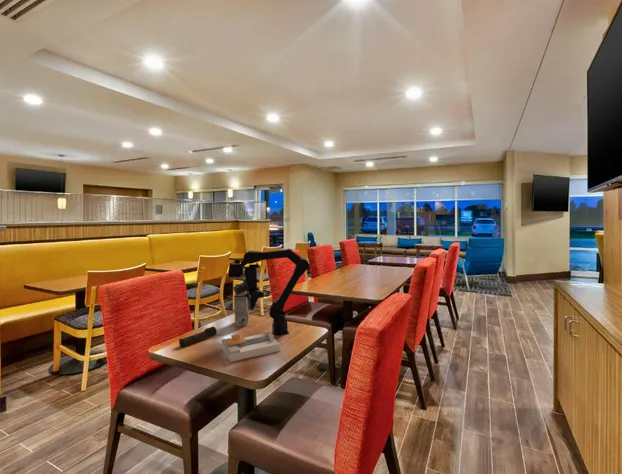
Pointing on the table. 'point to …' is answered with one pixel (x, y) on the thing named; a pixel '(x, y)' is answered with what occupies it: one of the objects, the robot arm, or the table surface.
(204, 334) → the hand tool
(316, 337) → the table surface
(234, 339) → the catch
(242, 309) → the coffee box
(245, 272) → the robot arm
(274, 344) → the mount block
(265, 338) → the grey flat bar
